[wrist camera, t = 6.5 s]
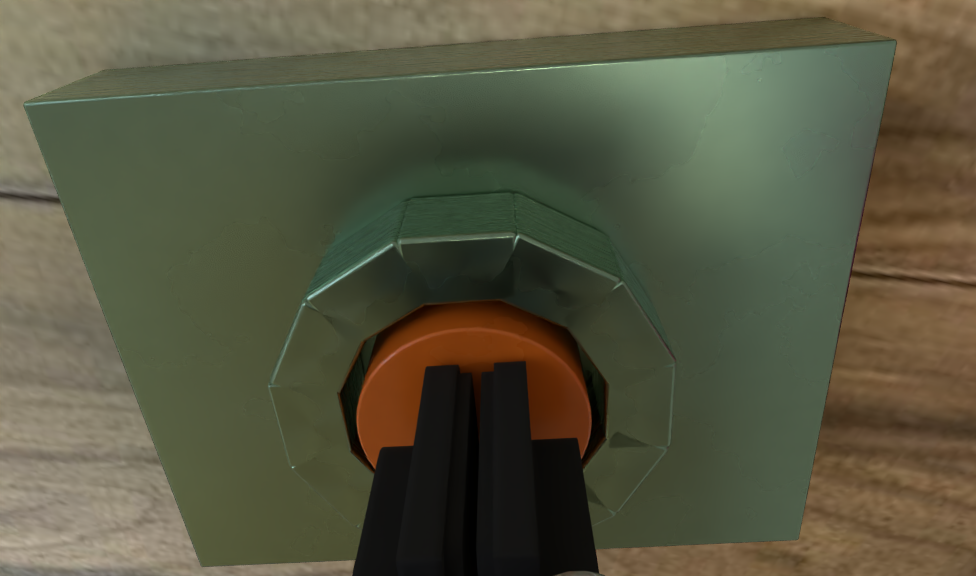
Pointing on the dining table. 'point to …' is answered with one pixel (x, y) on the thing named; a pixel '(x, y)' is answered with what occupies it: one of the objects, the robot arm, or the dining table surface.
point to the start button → (472, 370)
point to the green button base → (480, 258)
